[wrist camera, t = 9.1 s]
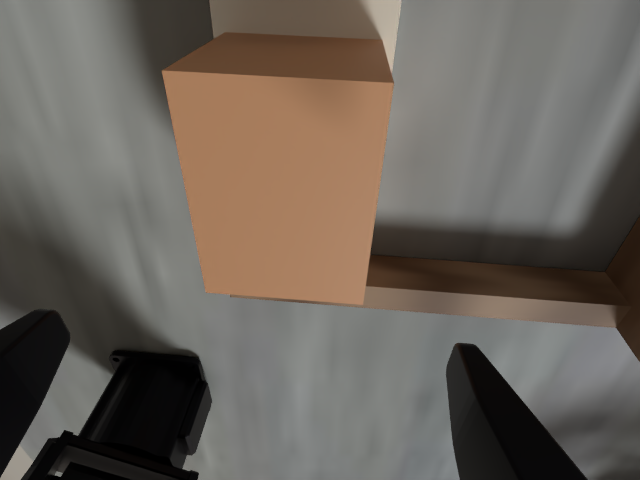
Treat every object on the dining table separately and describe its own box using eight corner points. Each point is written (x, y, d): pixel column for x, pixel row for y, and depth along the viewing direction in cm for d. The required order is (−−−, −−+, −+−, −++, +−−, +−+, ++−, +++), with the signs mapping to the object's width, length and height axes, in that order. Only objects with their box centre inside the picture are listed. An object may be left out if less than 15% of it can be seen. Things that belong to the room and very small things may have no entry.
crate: (243, 209, 20) (206, 292, 15) (225, 32, 15) (161, 70, 10) (361, 217, 19) (362, 305, 15) (382, 39, 15) (393, 82, 10)
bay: (241, 265, 22) (219, 326, 19) (198, -108, 13) (134, -131, 9) (620, 294, 21) (673, 364, 18) (881, -86, 12) (1112, -102, 8)
